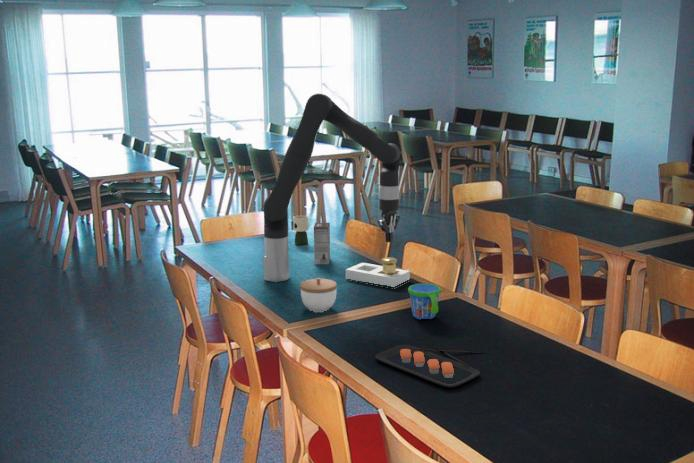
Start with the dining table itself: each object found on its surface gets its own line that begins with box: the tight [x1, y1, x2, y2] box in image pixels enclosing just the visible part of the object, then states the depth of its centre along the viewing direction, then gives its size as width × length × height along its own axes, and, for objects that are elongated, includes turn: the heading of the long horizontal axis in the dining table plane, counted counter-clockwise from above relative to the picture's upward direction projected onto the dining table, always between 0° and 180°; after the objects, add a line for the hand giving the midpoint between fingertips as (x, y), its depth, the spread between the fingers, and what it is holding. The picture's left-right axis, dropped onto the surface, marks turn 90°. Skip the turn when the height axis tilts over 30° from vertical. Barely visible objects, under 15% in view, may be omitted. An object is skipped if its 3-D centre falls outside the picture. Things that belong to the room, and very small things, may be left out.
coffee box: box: [313, 222, 331, 265], centre depth 308 cm, size 9×6×16 cm
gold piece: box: [381, 257, 398, 275], centre depth 280 cm, size 6×6×9 cm
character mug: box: [292, 215, 310, 245], centre depth 338 cm, size 11×7×13 cm, turn 14°
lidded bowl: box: [299, 277, 338, 313], centre depth 249 cm, size 13×13×11 cm
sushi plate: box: [374, 343, 481, 388], centre depth 207 cm, size 29×30×4 cm
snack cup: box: [407, 283, 442, 320], centre depth 241 cm, size 16×10×10 cm
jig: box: [345, 262, 411, 287], centre depth 283 cm, size 12×22×4 cm, turn 56°
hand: (388, 241), depth 277 cm, fingers closed
